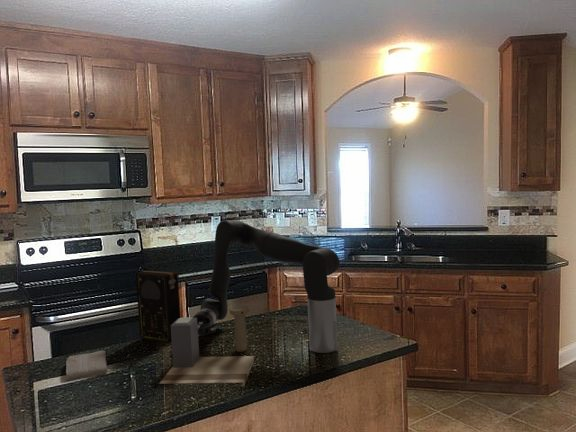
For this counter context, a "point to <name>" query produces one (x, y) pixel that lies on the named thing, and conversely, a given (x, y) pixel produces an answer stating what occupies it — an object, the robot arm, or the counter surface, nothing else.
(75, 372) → the washcloth
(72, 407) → the counter surface
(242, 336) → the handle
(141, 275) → the voltmeter
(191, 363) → the grey tall block
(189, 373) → the subfloor panel
